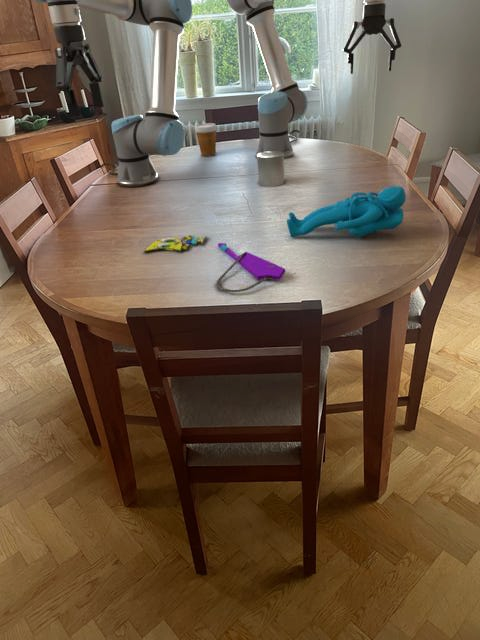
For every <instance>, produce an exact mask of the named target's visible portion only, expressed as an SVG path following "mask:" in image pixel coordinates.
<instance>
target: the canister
mask: <svg viewBox="0 0 480 640" xmlns="http://www.w3.org/2000/svg"><path fill="white" fill-rule="evenodd" d="M256 158H257V176H258V185H260V186H262V187H277V186H281V185H283V184H285V158H284V153H283V152H281V151H265V152H261V153H259V154H258V155H257V157H256Z"/></svg>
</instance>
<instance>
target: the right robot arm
mask: <svg viewBox="0 0 480 640" xmlns="http://www.w3.org/2000/svg"><path fill="white" fill-rule="evenodd" d="M226 1H227V5H228V7H229V9H230V10H231V11H232V12H234V13H235V14H237V15H242V16H243V15H244V18H245V20H246V24H247V25H249V26H251V27H252V31H253V32H254V36H255V39H256V41H257V44H258V48H259V51H260V54H261V57H262V61H263V63H264V67H265V70H266V72H267V76H268V79H269V81H270V82H269V83H270V85H271V88H272V89H271V90H270V92H268V93H264V94H262V95H261V96H260V97H259V98H258V100H257V115H258V130H259V131H258V133H259V138H258V142H257V146H256V151H255V155H256V158H257V155H258V154H259V153H261V152H265V151H281V152H283V153H284V159H287V158H290V157H292V156H293V155H294V149H293V145H292V143H295V142H296V141H297V140H298V138H297V136H295V135H292V134H294V133H295V132H296V133H298V134H299V133H300V131H299V130H298V129H294V130H292V131H290V132H289V124H291V123H293V122H295V121H299V119H300V118H302V117H303V116H305V114H306V112H307V109H308V98H307V95H306V93H305V92H304V91H302V90H301V89H300V88H299V84H298V82H297V81H295V80H294V79H293V78H292V74H291V71H290V68H289V65H288V62H287V59H286V55H285V52H284V49H283V46H282V43H281V40H280V36H279V33H278V29H277V27H276V24H275V20H274V14H275V12H276V10H275V6H274V5H275V0H226ZM386 1H387V0H363V6H362V20H361V21H353V23H352V28H351V30H350V34H349V35H348V36H347V37H348V38H347V40H346V42H345V44H344V46H343V49H342V51H343V53H347V64H349V65H350V67H349V73H350V75H353V74H354V57H355V53H354V52H353V51H354V50H355V49H356V48H357V46H358V45H359V44H360V43H361V42H362V40H363V39H364V37H366V35H367V36H371V35H378V34H380V35H381V37H382V38H383V40H384V41H385V42H386V43H387V44H388V46H389V48H390V49H389V50H388V60H387V71H388V72H391V71H392V63H393V62H392V61H395V58H396V51H397V50H398V49H400V48H401V47H402V43H401V39H400V37H399V34H398V32H397V29H396V27H395V19H394V18H393V17H390V18H388V19H387V18H386V7H387V5H386V3H385V2H386ZM385 25H387V26H388V27H389V28H390V32H391V35H392V37H393V40H394V42H395V44H394V42H393V41H392V39H391V38H390V37H389V35H388V34H387V32H386V31H385V29H384V27H385ZM360 26H361V28H362V31H361V32H360V33H359V35H358V36H357V38H356V39H355V40H354V42H353V43H352V40H353V39H354V36H355V34H356V32H357V29H359V28H360ZM351 43H352V45H351ZM290 138H292V140H290Z"/></svg>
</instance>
